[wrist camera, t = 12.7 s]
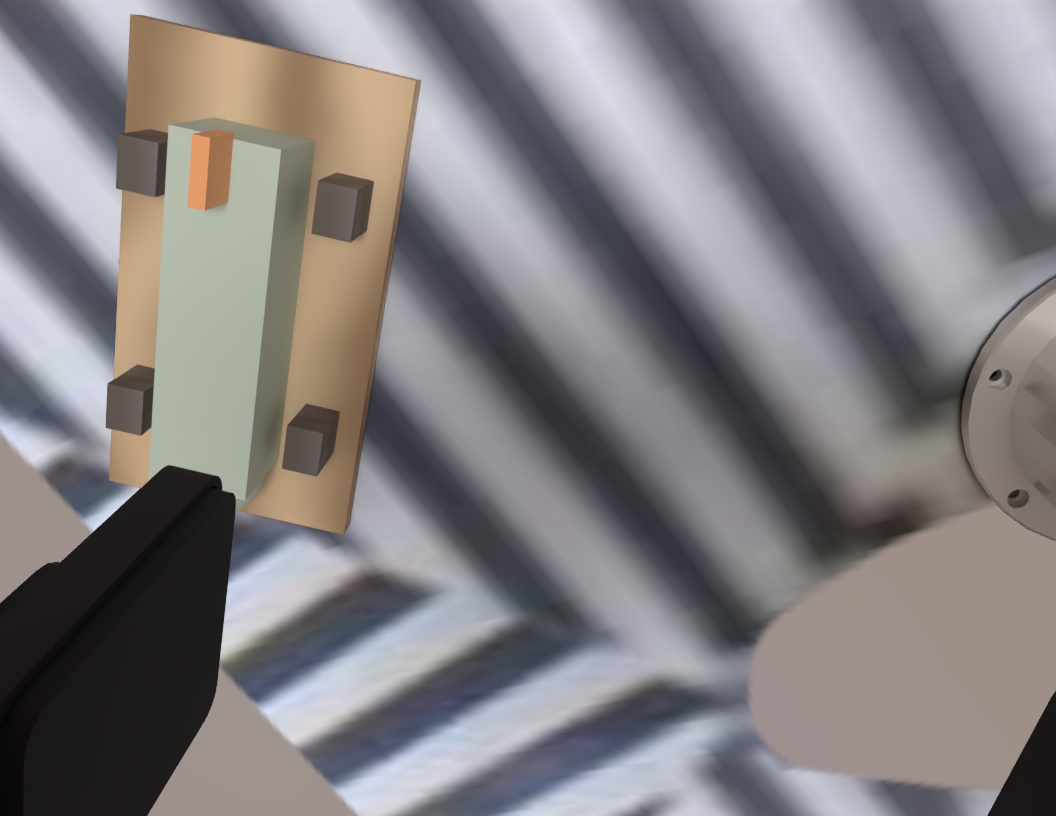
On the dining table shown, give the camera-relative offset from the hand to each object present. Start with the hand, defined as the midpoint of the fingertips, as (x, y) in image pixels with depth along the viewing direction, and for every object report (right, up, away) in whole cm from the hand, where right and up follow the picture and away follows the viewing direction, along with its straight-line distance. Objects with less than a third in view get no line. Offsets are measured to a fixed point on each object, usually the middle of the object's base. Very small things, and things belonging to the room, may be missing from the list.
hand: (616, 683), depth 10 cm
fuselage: (-13, +8, +28) cm, 31 cm away
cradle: (-13, +8, +29) cm, 32 cm away
